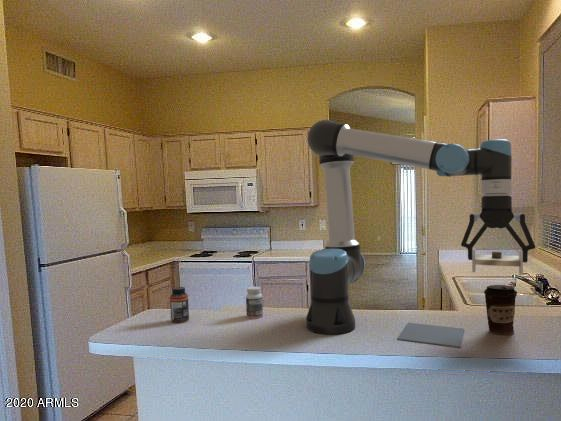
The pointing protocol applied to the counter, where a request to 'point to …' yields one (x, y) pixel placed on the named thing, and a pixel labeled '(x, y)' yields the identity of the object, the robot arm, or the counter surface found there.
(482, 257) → the bamboo lid
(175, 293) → the supplement bottle
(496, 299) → the coffee cup
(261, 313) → the pill bottle
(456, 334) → the rubber mat
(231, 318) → the counter surface
